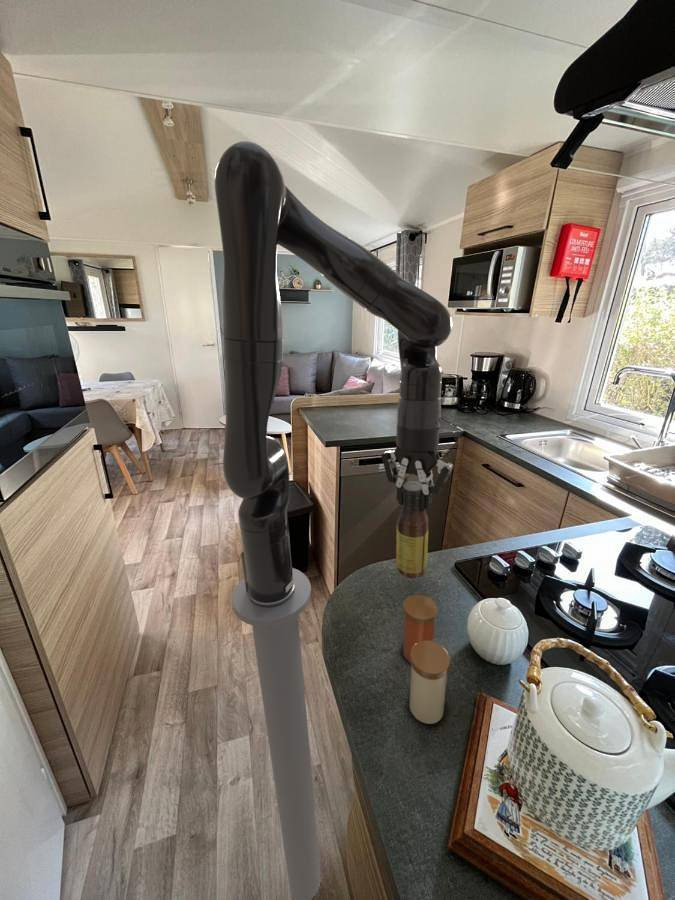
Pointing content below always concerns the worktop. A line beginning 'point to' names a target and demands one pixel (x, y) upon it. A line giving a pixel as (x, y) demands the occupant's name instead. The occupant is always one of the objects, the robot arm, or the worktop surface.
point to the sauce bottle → (412, 533)
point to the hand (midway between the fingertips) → (413, 505)
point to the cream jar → (428, 681)
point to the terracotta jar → (418, 622)
